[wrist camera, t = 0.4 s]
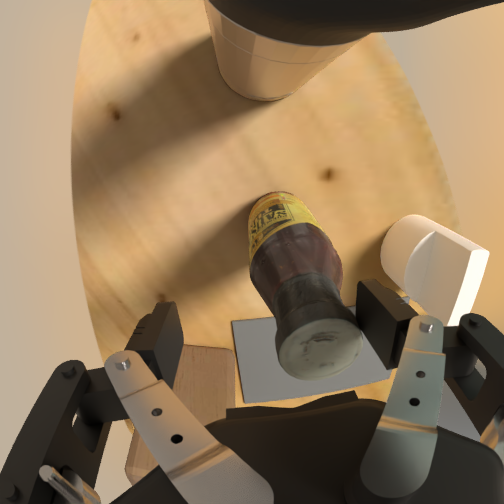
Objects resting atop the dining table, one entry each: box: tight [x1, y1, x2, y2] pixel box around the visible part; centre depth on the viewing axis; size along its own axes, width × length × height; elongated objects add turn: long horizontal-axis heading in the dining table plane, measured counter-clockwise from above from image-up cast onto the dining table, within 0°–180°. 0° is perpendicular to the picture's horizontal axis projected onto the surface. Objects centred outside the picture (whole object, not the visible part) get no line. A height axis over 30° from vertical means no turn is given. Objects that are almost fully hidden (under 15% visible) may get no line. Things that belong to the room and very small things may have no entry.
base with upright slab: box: [380, 215, 489, 326], centre depth 27 cm, size 9×9×12 cm
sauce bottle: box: [248, 191, 363, 381], centre depth 21 cm, size 6×6×20 cm
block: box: [125, 345, 235, 486], centre depth 28 cm, size 10×10×20 cm
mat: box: [232, 296, 410, 404], centre depth 37 cm, size 16×24×1 cm, turn 95°
